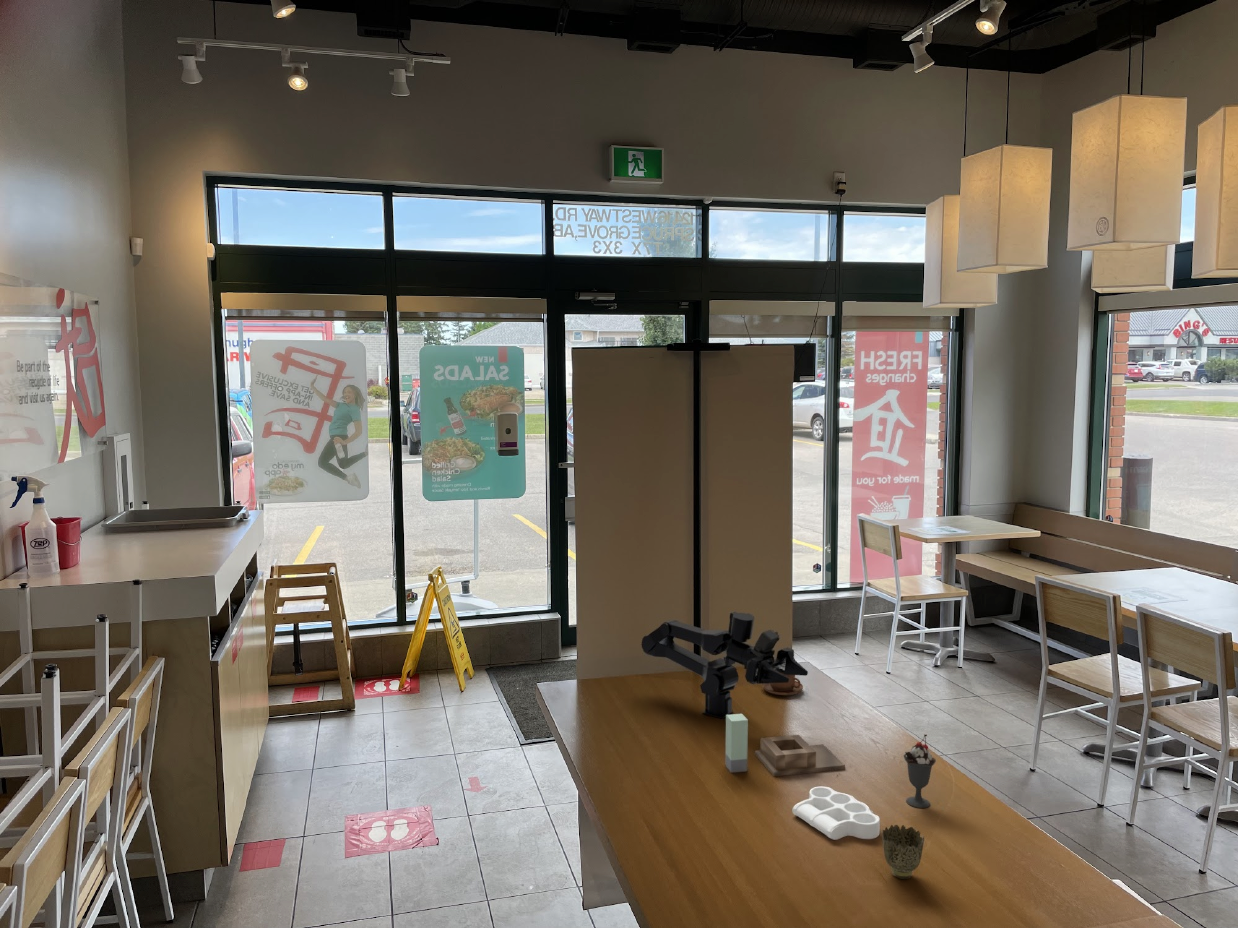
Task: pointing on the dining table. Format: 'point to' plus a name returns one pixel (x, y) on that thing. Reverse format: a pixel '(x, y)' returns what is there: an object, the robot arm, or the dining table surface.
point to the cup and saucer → (784, 686)
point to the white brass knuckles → (838, 814)
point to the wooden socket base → (795, 756)
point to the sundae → (919, 772)
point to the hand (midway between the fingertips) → (798, 676)
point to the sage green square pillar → (736, 742)
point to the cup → (902, 850)
